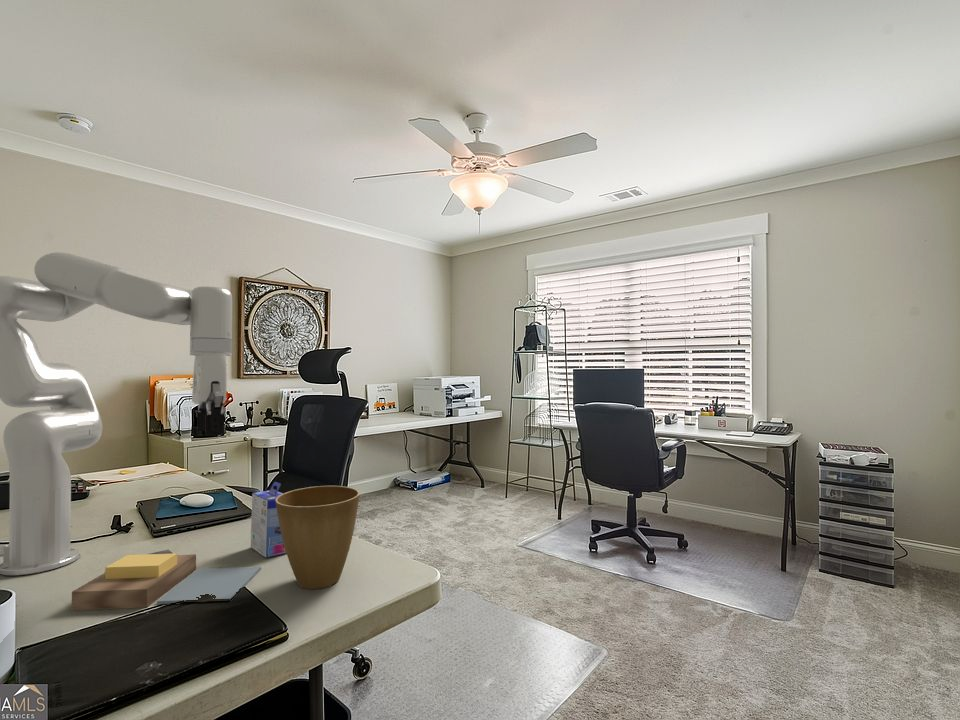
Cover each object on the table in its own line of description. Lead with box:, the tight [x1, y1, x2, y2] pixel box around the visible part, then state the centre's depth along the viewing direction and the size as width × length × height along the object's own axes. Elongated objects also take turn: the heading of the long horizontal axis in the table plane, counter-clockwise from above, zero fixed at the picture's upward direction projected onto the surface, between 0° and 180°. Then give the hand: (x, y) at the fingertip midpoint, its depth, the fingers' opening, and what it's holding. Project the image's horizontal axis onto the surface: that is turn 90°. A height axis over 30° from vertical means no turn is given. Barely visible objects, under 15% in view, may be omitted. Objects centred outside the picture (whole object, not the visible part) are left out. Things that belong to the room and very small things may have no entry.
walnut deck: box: [71, 553, 197, 611], centre depth 91 cm, size 12×16×3 cm
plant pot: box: [275, 485, 361, 590], centre depth 93 cm, size 15×15×16 cm
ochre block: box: [104, 553, 178, 579], centre depth 91 cm, size 9×6×2 cm, turn 93°
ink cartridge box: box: [250, 481, 287, 558], centre depth 110 cm, size 10×6×14 cm, turn 43°
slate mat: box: [156, 566, 262, 605], centre depth 91 cm, size 12×14×1 cm
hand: (210, 432), depth 101 cm, fingers open, 9 cm apart
